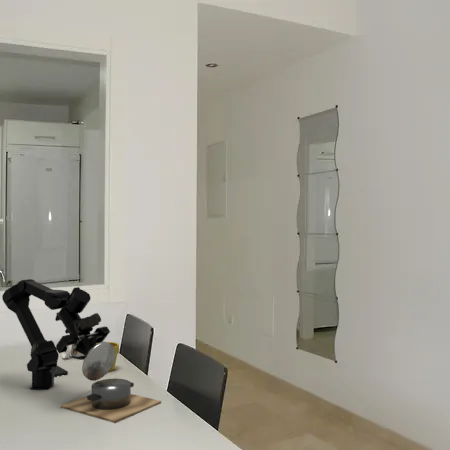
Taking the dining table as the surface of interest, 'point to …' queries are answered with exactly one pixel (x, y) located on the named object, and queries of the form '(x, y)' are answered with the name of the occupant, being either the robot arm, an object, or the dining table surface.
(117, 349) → the plant pot
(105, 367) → the lid
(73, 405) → the board
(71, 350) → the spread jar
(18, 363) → the dining table surface
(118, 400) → the cooker
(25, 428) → the dining table surface
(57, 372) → the smart home device
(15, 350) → the dining table surface
